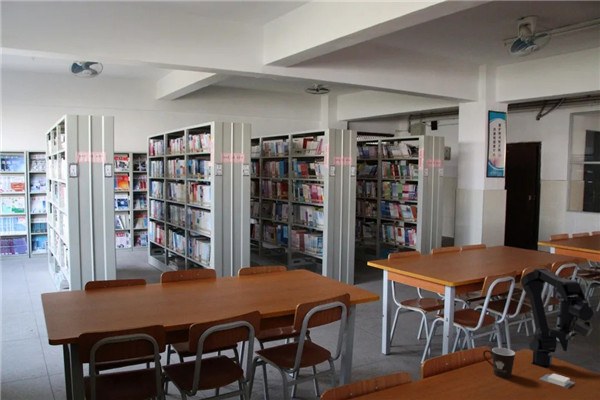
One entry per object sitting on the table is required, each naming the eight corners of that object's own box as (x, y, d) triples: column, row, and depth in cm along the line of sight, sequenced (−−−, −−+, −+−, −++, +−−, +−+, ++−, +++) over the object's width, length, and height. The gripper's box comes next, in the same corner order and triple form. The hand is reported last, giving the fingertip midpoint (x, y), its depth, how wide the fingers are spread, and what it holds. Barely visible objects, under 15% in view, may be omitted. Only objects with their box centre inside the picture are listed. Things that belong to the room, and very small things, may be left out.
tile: (553, 378, 190) (547, 381, 186) (553, 373, 190) (547, 376, 186) (569, 383, 186) (564, 387, 182) (569, 378, 185) (564, 382, 182)
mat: (539, 380, 189) (539, 379, 189) (547, 374, 194) (547, 373, 194) (567, 389, 181) (567, 388, 181) (575, 383, 186) (575, 382, 186)
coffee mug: (518, 378, 190) (519, 354, 189) (502, 381, 187) (503, 356, 186) (496, 367, 201) (497, 344, 200) (480, 370, 197) (481, 346, 197)
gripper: (580, 322, 176) (578, 363, 177) (599, 313, 188) (596, 352, 189) (549, 314, 184) (547, 353, 185) (569, 306, 196) (567, 343, 197)
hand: (565, 351), depth 189 cm, fingers closed
